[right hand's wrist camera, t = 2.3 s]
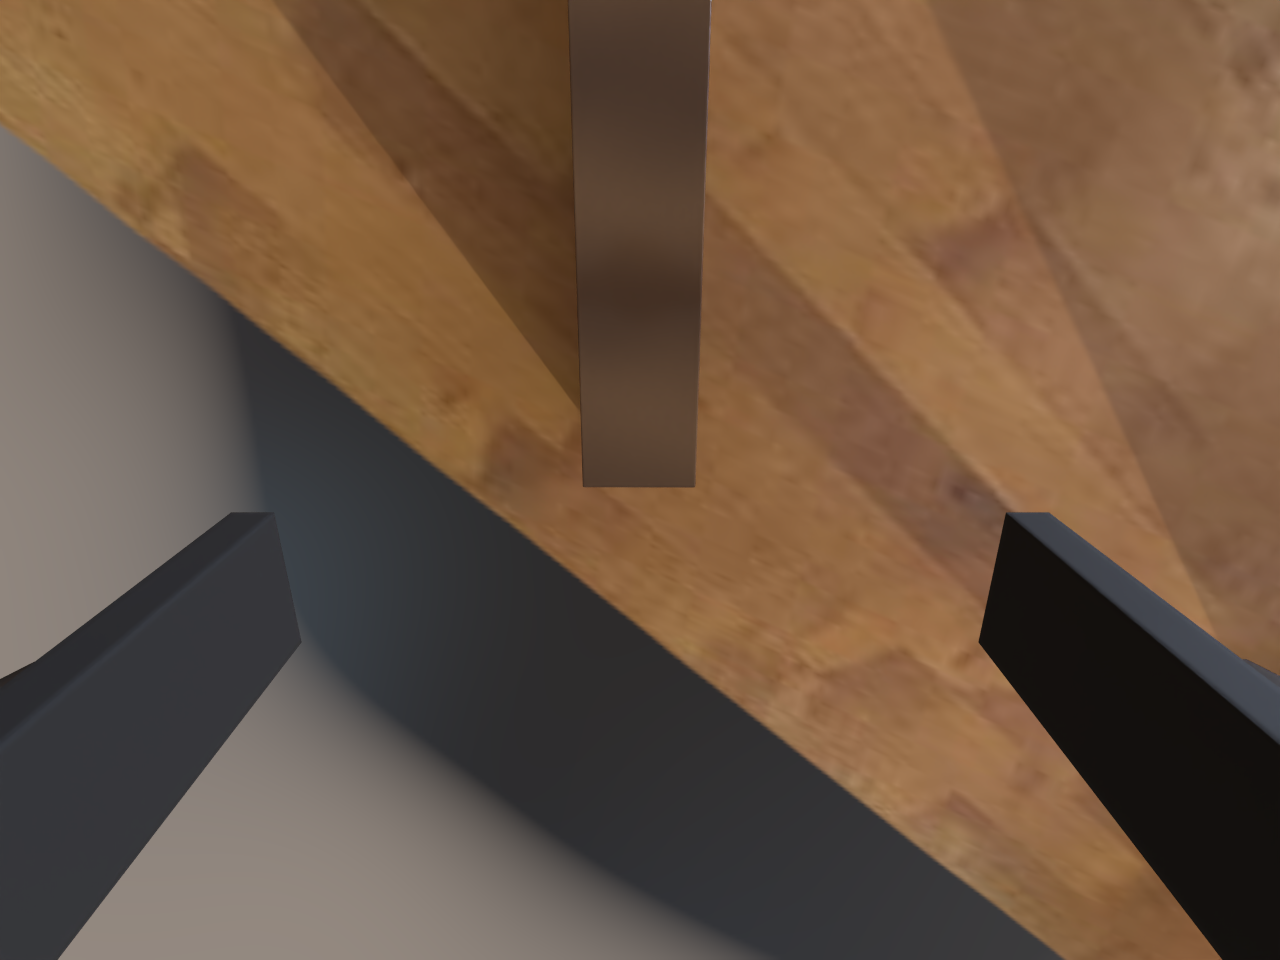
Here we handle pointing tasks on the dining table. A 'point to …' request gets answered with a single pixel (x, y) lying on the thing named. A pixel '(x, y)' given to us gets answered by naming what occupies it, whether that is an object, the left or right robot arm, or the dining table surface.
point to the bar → (639, 233)
